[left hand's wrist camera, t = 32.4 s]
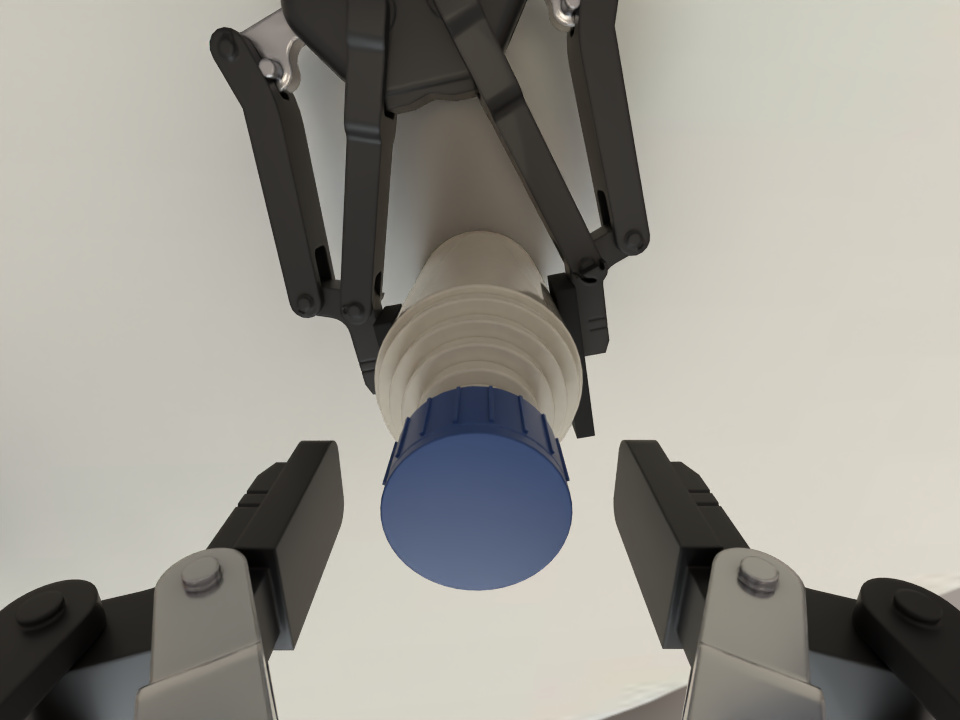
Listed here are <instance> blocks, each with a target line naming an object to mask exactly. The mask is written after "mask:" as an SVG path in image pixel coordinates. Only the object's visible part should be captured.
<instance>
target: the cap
mask: <svg viewBox="0 0 960 720" xmlns="http://www.w3.org/2000/svg"><path fill="white" fill-rule="evenodd" d="M567 481H570V480H569V476H568V472H567V469H566V465H565V461H564V458H563V454H562V450H561V447H560V443H559V440H558V438H555V436H554V433H553V431H552V429H551V427H550V425H549V423H548V422H547V418H546V415H545V414H544V413H543V414H541V413H540V412H539V411H538V410H537V409H536V408H535V407H534V406H533V405H531V404H530V403H529V402H527V401H526V400H525V399H523V396H521V395H519V396H517V395H515V394H513V393H510V392H508V391H505V390H502V389H499V388H493V386H490V385H489V387H485V386H467V387H462V388H460V386H458V387H456V389H452V390H449V391H446V392H443V393H441V394H439V395H437V396H435V397H433V398H431V397H429V398H428V399H427V402H425V403H424V404H423V405H421V406H420V407H419V408H418V409H417V410H416V411H415V412H414V413H413V414H412V415H411V417H410V418H409V417H407V418H406V420H405V423H404V427H403V430H402V432H401V434H400V437H399V440H398V442H395V444H394V448H393V451H392V454H391V457H390V461H389V464H388V467H387V470H386V474H385V477H384V480H383V484H382V485H385V487H384V491H383V494H382V498H381V507H380V510H381V521H382V526H383V530H384V533H385V535H386V538H387V540H388V542H389V544H390V546H391V547H392V549H393V550H394V552H395V553H396V554H397V556H398V557H399V558H400V559H401V560H402V561H403V562H404V563H405V564H406V565H407V566H408V567H410V568H411V569H412V570H413V571H415V572H416V573H418V574H419V575H421V576H423V577H424V578H426V579H428V580H431V581H433V582H435V583H438V584H441V585H444V586H447V587H451V588H456V589H463V590H492V589H498V588H503V587H506V586H510V585H513V584H516V583H518V582H521V581H523V580H525V579H527V578H529V577H531V576H533V575H535V574H536V573H537V572H539V571H540V570H542V569H543V568H544V567H545V566H546V565H547V564H549V563H550V562H551V561H552V560H553V558H554V557H555V556H556V555H557V554H558V552H559V551H560V549H561V548H562V546H563V544H564V542H565V540H566V538H567V536H568V533H569V530H570V526H571V521H572V501H571V496H570V492H569V488H568V484H567Z"/></svg>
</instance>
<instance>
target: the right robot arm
mask: <svg viewBox="0 0 960 720" xmlns="http://www.w3.org/2000/svg"><path fill="white" fill-rule="evenodd" d="M526 2H527V0H281V7H282V8H281V9H279V10H277V11H276V12H274V13H272V14H271V15H269V16H267V17H266V18H264V19H262V20H261V21H259V22H258V23H256V24H254V25H253V26H251V27H249V28H248V29H246V30H244V31H243V32H237V31H235V30H234V29H232V28H226V27H223V28H219V29H217V30H216V31H215V32H214V33H213V34H212V36H211V39H210V51H211V54H212V56H213V58H214V60H215V62H216V64H217V65H218V67H219V69H220V70H221V72H222V74H223V75H224V77H225V79H226V81H227V82H228V84H229V86H230V87H231V89H232V91H233V93H234V94H235V96H236V98H237V99H238V101H239V103H240V105H241V106H242V108H243V111H244V115H245V120H246V124H247V128H248V132H249V136H250V140H251V144H252V149H253V153H254V157H255V161H256V165H257V169H258V174H259V178H260V182H261V186H262V190H263V194H264V198H265V203H266V207H267V211H268V215H269V219H270V223H271V228H272V232H273V236H274V240H275V244H276V248H277V252H278V257H279V261H280V265H281V269H282V273H283V277H284V282H285V286H286V290H287V294H288V298H289V302H290V306H291V308H292V310H293V311H294V312H295V313H296V314H297V315H299V316H301V317H303V318H310V317H314V316H315V315H317V316H324V317H330V318H335V319H338V320H340V321H341V322H343V323H344V324H345V325H346V326H347V328H348V329H349V332H350V335H351V338H352V341H353V345H354V348H355V351H356V355H357V358H358V361H359V365H360V368H361V371H362V375H363V378H364V381H365V385H366V386H367V387H368V388H369V390H370V391H371V392H372V394H376V392H375V380H374V377H375V365H376V361H377V357H378V353H379V350H380V348H381V345H382V342H383V340H384V338H385V337H386V335H387V333H388V331H389V329H390V327H391V326H392V324H393V322H394V320H395V318H396V316H397V315H398V313H399V311H400V309H401V307H402V304H397V305H392V306H386V307H384V309H382V305H381V300H382V299H383V297H384V293H382V285H383V271H384V257H385V243H386V230H387V216H388V202H389V188H390V175H391V161H392V148H393V142H394V138H395V132H396V120H397V114H399V113H404V112H408V111H413V110H416V109H418V108H420V107H422V106H423V105H425V104H427V103H429V102H431V101H433V100H449V101H459V100H464V99H468V98H473V97H476V95H477V97H478V99H479V101H480V103H481V105H482V107H483V109H484V111H485V113H486V114H487V116H488V118H489V120H490V121H491V123H492V125H493V127H494V129H495V131H496V133H497V134H498V136H499V138H500V140H501V142H502V144H503V146H504V148H505V150H506V152H507V154H508V156H509V158H510V160H511V162H512V163H513V165H514V167H515V169H516V171H517V173H518V175H519V177H520V179H521V181H522V183H523V185H524V187H525V189H526V191H527V192H528V194H529V196H530V198H531V200H532V202H533V204H534V206H535V208H536V210H537V212H538V214H539V216H540V218H541V220H542V221H543V223H544V225H545V227H546V229H547V231H548V233H549V235H550V237H551V239H552V241H553V243H554V245H555V247H556V249H557V250H558V252H559V254H560V256H561V258H562V260H563V262H564V264H565V272H566V273H559V274H554V275H549V276H547V277H548V283H549V290H550V295H551V297H552V299H553V301H554V303H555V305H556V307H557V309H558V311H559V313H560V315H561V317H562V319H563V321H564V323H565V325H566V327H567V329H568V331H569V333H570V335H571V337H572V339H573V341H574V343H575V345H576V348H577V350H578V353H579V356H580V361H581V366H582V378H583V384H582V394H581V398H580V402H579V407H578V409H577V412H576V414H575V417H574V419H573V422H572V425H573V428H574V431H575V434H576V436H577V439H578V438H584V437H589V436H595V433H594V425H593V417H592V409H591V402H590V394H589V386H588V379H587V371H586V363H585V356H589V355H595V354H600V353H606V349H607V346H608V343H609V334H608V327H607V326H608V325H607V318H606V307H605V298H604V289H603V280H604V279H605V277H606V275H607V271H608V269H609V268H610V267H611V266H612V265H614V264H615V263H617V262H619V261H620V260H622V259H624V258H626V257H627V256H633V255H638V254H640V253H642V252H643V251H644V250H645V249H646V248H647V246H648V244H649V242H650V233H649V227H648V221H647V215H646V209H645V203H644V198H643V192H642V186H641V180H640V174H639V168H638V162H637V156H636V150H635V144H634V138H633V132H632V126H631V120H630V114H629V108H628V103H627V97H626V91H625V85H624V79H623V73H622V67H621V61H620V55H619V49H618V43H617V37H616V31H615V20H616V13H617V5H618V0H545V2H546V4H547V6H548V12H549V19H550V21H551V24H552V25H553V26H554V27H555V28H556V29H557V30H559V31H562V32H567V53H568V60H569V67H570V72H571V77H572V82H573V87H574V92H575V97H576V102H577V107H578V112H579V117H580V122H581V127H582V132H583V137H584V142H585V147H586V152H587V157H588V162H589V167H590V172H591V177H592V182H593V187H594V192H595V197H596V201H597V206H598V211H599V216H600V221H601V226H602V227H600V228H599V229H597V230H595V231H594V232H592V233H589V231H588V229H587V227H586V224H585V222H584V220H583V218H582V216H581V214H580V212H579V210H578V208H577V206H576V204H575V202H574V200H573V198H572V196H571V194H570V192H569V190H568V188H567V186H566V184H565V182H564V179H563V177H562V175H561V173H560V171H559V169H558V167H557V165H556V163H555V161H554V159H553V157H552V155H551V153H550V151H549V149H548V147H547V145H546V143H545V141H544V139H543V137H542V135H541V132H540V130H539V128H538V126H537V124H536V122H535V120H534V118H533V116H532V114H531V112H530V110H529V108H528V106H527V104H526V102H525V99H524V97H523V94H522V91H521V88H520V86H519V84H518V81H517V79H516V77H515V75H514V73H513V71H512V69H511V67H510V65H509V63H508V61H507V59H506V57H505V55H504V54H505V52H506V49H507V47H508V45H509V42H510V40H511V37H512V35H513V33H514V30H515V28H516V26H517V23H518V21H519V18H520V16H521V14H522V11H523V9H524V7H525V4H526ZM304 45H307V46H308V47H309V48H310V49H311V50H312V51H313V52H314V53H315V54H316V55H317V56H318V57H319V58H320V59H321V60H322V61H323V62H324V63H325V64H326V65H327V66H328V67H329V68H330V69H331V70H332V71H334V72H335V73H336V74H337V75H338V76H339V77H340V78H341V79H342V80H343V81H344V82H345V108H344V127H345V132H346V137H347V147H346V170H345V193H344V217H343V240H342V263H341V280H335V276H334V271H333V266H332V261H331V256H330V252H329V247H328V242H327V237H326V232H325V227H324V222H323V217H322V212H321V208H320V203H319V198H318V193H317V188H316V183H315V178H314V173H313V168H312V164H311V159H310V154H309V149H308V144H307V139H306V134H305V129H304V125H303V121H302V117H301V113H300V110H299V107H298V104H297V102H296V99H295V97H294V95H293V92H294V91H295V90H296V89H297V88H298V86H299V84H300V81H301V75H300V71H299V67H298V54H299V51H300V50H301V48H302V47H303V46H304Z"/></svg>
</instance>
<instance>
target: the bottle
mask: <svg viewBox="0 0 960 720" xmlns="http://www.w3.org/2000/svg"><path fill="white" fill-rule="evenodd" d="M374 380H375V392H376V397H377V402H378V405H379V408H380V411H381V414H382V416H383V419H384V422H385V424H386V426H387V428H388V430H389V432H390V434H391V435H392V436H393V438H394V439H395V441H396V442H398V440H399V437H400V434H401V432H402V430H403V427H404V423H405V420H406V418H407V417H409V418H410V417H411V415H412V414H413V413H414V412H415V411H416V410H417V409H418V408H419V407H420V406H421V405H423V404H424V403H425V402H427V399H428V398H429V397H431V398H433V397H435V396H437V395H439V394H441V393H443V392H446V391H449V390H452V389H456V387H458V386H460V388H462V387H467V386H485V387H489V385H490V386H493V388H499V389H502V390H505V391H508V392H510V393H513V394H515V395H517V396H519V395H521V396H523V399H525V400H526V401H527V402H529V403H530V404H531V405H533V406H534V407H535V408H536V409H537V410H538V411H539V412H540V413H541V414H543V413H544V414H545V415H546V418H547V422H548V423H549V425H550V427H551V429H552V431H553V433H554V436H555V438H558V440H559V443H560V442H561V441H562V440H563V438H564V437H565V435H566V433H567V432H568V430H569V428H570V426H571V424H572V422H573V419H574V417H575V414H576V412H577V409H578V407H579V402H580V398H581V394H582V384H583V378H582V366H581V361H580V356H579V353H578V350H577V348H576V345H575V343H574V341H573V339H572V337H571V335H570V333H569V331H568V329H567V327H566V325H565V323H564V321H563V319H562V317H561V315H560V313H559V311H558V309H557V307H556V305H555V303H554V301H553V299H552V297H551V295H550V293H549V291H548V289H547V287H546V285H545V283H544V281H543V279H542V277H541V275H540V273H539V271H538V269H537V267H536V265H535V263H534V261H533V260H532V258H531V257H530V255H529V254H528V253H527V252H526V251H525V250H524V248H523V247H521V246H520V245H519V244H518V243H517V242H515V241H514V240H512V239H510V238H508V237H506V236H504V235H502V234H498V233H495V232H490V231H469V232H465V233H461V234H459V235H456V236H454V237H452V238H450V239H448V240H446V241H445V242H444V243H442V244H441V245H440V246H439V247H438V248H437V249H436V250H435V251H434V252H433V253H432V254H431V256H430V257H429V258H428V260H427V262H426V263H425V265H424V267H423V269H422V271H421V273H420V274H419V276H418V278H417V280H416V282H415V284H414V285H413V287H412V289H411V291H410V293H409V294H408V296H407V298H406V300H405V302H404V304H403V305H402V307H401V309H400V311H399V313H398V315H397V316H396V318H395V320H394V322H393V324H392V326H391V327H390V329H389V331H388V333H387V335H386V337H385V338H384V340H383V342H382V345H381V348H380V350H379V353H378V357H377V361H376V365H375V377H374Z"/></svg>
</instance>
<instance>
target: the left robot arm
mask: <svg viewBox="0 0 960 720" xmlns="http://www.w3.org/2000/svg"><path fill="white" fill-rule="evenodd" d="M343 511H344V496H343V487H342V479H341V470H340V461H339V452H338V447H337V444H336V442H335V441H301V442H300V443H299V444H298V446H297V447H296V449H295V450H294V452H293V453H292V455H291V457H290V458H289V460H288V461H287V462H276V463H275V464H273V465H272V466H271V467H269V468H268V469H266V470H265V471H264V472H262V473H261V474H259V475H258V476H257V477H256V479H255V480H254V482H253V483H252V485H251V486H250V487H249V489H248V490H247V494H245V495H244V496H243V497H242V499H241V500H240V502H239V503H238V507H235V509H234V510H233V512H232V513H231V515H230V516H229V517H228V519H227V520H226V522H225V523H224V525H223V526H222V527H221V529H220V530H219V532H218V533H217V535H216V536H215V537H214V539H213V540H212V542H211V543H210V545H209V546H208V547H207V549H206V550H203V551H199V552H197V553H194V554H191V555H189V556H187V557H185V558H183V559H181V560H180V561H178V562H177V563H175V564H174V565H172V566H171V567H170V568H169V569H168V570H166V572H165V573H164V574H163V575H162V576H161V577H160V579H159V580H158V582H157V584H156V586H155V587H154V588H152V589H148V590H145V591H141V592H136V593H132V594H128V595H123V596H119V597H115V598H111V599H106V600H102V601H101V600H100V597H99V594H98V591H97V589H96V587H95V585H93V584H92V583H91V582H88V581H85V580H64V581H59V582H55V583H52V584H48V585H45V586H43V587H40V588H37V589H35V590H33V591H31V592H29V593H27V594H25V595H23V596H21V597H20V598H18V599H16V600H15V601H13V602H12V603H10V604H9V605H7V606H6V607H5V608H4V609H2V610H1V611H0V720H279V719H278V713H277V708H276V702H275V697H274V691H273V686H272V680H271V675H270V670H269V665H268V660H269V658H270V656H271V653H272V651H273V650H294V648H295V645H296V643H297V640H298V638H299V635H300V632H301V630H302V627H303V624H304V622H305V619H306V616H307V614H308V611H309V608H310V606H311V603H312V601H313V598H314V595H315V593H316V590H317V587H318V585H319V582H320V579H321V577H322V574H323V571H324V569H325V566H326V564H327V561H328V558H329V556H330V553H331V550H332V548H333V545H334V542H335V540H336V537H337V535H338V532H339V529H340V526H341V523H342V519H343ZM614 515H615V521H616V524H617V527H618V530H619V533H620V535H621V538H622V541H623V543H624V546H625V549H626V552H627V554H628V557H629V560H630V562H631V565H632V568H633V570H634V573H635V576H636V578H637V581H638V584H639V586H640V589H641V592H642V595H643V597H644V600H645V603H646V605H647V608H648V611H649V613H650V616H651V619H652V621H653V624H654V627H655V629H656V632H657V635H658V637H659V640H660V643H661V646H662V648H663V649H684V651H685V654H686V656H687V659H688V661H689V664H690V666H691V670H690V675H689V680H688V686H687V691H686V697H685V702H684V708H683V714H682V719H681V720H960V611H959V610H958V609H957V608H955V607H954V606H953V605H951V604H950V603H949V602H947V601H946V600H944V599H943V598H941V597H940V596H938V595H936V594H934V593H933V592H931V591H929V590H927V589H925V588H922V587H920V586H917V585H915V584H912V583H909V582H906V581H902V580H898V579H892V578H875V579H871V580H868V581H866V582H865V583H864V584H863V585H862V587H861V590H860V592H859V595H858V598H857V600H855V599H851V598H847V597H843V596H838V595H834V594H830V593H825V592H821V591H817V590H812V589H809V588H805V586H804V584H803V582H802V580H801V579H800V577H799V576H798V575H797V574H796V573H795V572H794V570H792V569H791V568H790V567H789V566H788V565H786V564H785V563H783V562H782V561H780V560H779V559H777V558H775V557H773V556H771V555H769V554H766V553H763V552H761V551H757V550H753V549H750V548H749V546H748V545H747V543H746V542H745V540H744V539H743V537H742V536H741V535H740V533H739V532H738V530H737V529H736V527H735V526H734V524H733V523H732V522H731V520H730V519H729V517H728V516H727V514H726V513H725V511H724V510H723V509H722V507H721V506H719V503H718V501H717V500H716V498H715V497H714V496H713V494H712V493H710V490H709V488H708V487H707V485H706V484H705V483H704V481H703V480H702V478H701V477H700V475H699V474H697V473H696V472H694V471H693V470H692V469H690V468H689V467H687V466H686V465H685V464H683V463H682V462H670V461H669V459H668V457H667V456H666V454H665V453H664V451H663V449H662V448H661V446H660V445H659V443H658V442H657V441H656V440H623V441H622V442H621V444H620V447H619V455H618V464H617V473H616V482H615V491H614Z"/></svg>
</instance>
